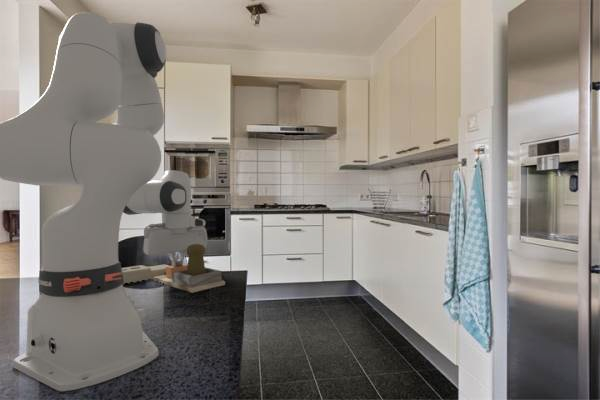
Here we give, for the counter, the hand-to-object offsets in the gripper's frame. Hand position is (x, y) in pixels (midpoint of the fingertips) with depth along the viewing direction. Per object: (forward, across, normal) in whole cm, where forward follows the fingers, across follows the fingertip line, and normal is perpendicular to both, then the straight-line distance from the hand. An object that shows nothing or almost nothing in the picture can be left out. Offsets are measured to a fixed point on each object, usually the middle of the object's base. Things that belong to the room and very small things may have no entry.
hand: (177, 265), depth 107 cm
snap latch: (+3, 0, 0) cm, 3 cm away
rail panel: (+4, 0, -6) cm, 7 cm away
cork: (+4, 0, -11) cm, 11 cm away
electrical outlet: (+5, -6, +11) cm, 13 cm away
